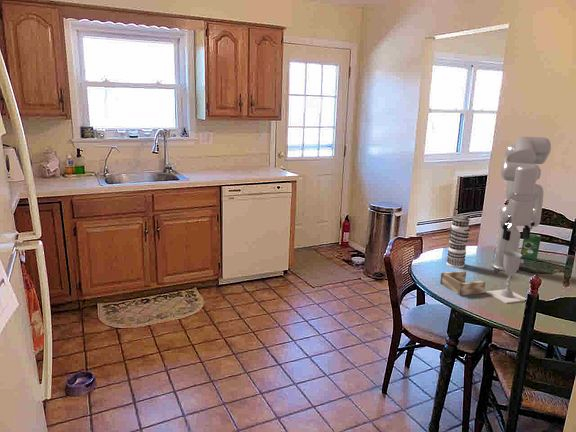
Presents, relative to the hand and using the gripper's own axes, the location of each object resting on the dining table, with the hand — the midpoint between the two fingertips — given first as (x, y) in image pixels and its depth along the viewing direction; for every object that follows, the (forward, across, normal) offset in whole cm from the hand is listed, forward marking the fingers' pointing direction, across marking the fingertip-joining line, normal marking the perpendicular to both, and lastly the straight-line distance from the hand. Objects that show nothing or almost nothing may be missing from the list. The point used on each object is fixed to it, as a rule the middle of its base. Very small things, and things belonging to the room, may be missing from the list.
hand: (515, 238), depth 181 cm
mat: (+25, +1, +1) cm, 25 cm away
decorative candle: (+26, -3, -38) cm, 46 cm away
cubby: (+25, +13, -12) cm, 30 cm away
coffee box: (+26, -49, -38) cm, 68 cm away
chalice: (+25, 0, 0) cm, 25 cm away
